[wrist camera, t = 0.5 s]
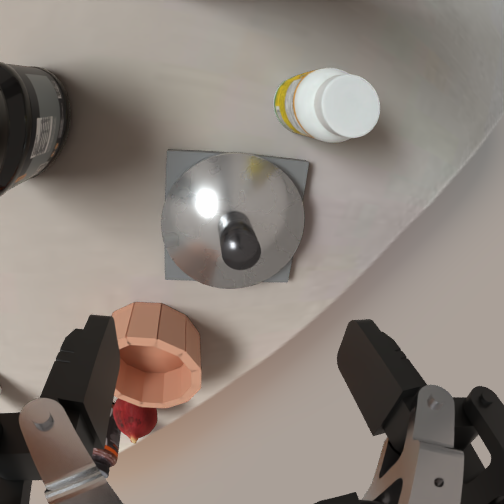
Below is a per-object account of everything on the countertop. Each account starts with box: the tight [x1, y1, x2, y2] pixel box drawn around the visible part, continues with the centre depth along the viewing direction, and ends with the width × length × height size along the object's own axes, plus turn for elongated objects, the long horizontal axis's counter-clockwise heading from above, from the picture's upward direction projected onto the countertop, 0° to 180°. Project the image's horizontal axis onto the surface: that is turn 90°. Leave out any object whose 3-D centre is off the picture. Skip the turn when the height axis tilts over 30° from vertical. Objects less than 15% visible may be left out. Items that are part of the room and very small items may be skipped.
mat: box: [165, 149, 309, 282], centre depth 28 cm, size 12×12×1 cm
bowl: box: [112, 302, 201, 408], centre depth 31 cm, size 11×11×6 cm
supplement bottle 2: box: [273, 68, 380, 143], centre depth 20 cm, size 5×5×10 cm
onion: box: [113, 398, 157, 444], centre depth 33 cm, size 6×6×8 cm
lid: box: [161, 152, 305, 289], centre depth 25 cm, size 12×12×6 cm
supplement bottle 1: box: [92, 404, 121, 478], centre depth 33 cm, size 6×6×11 cm
